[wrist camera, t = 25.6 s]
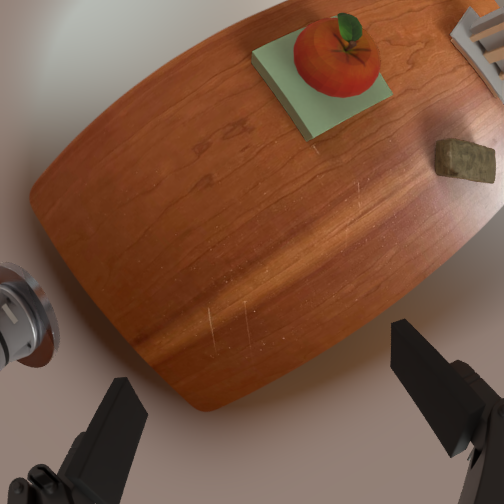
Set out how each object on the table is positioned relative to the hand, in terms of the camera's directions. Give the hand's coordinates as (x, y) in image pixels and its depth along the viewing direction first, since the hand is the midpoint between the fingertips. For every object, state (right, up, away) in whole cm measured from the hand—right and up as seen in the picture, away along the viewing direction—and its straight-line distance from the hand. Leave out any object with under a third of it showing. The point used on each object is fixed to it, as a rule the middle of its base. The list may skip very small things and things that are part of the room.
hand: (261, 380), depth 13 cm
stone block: (+32, +20, +23) cm, 45 cm away
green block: (+8, +29, +20) cm, 36 cm away
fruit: (+9, +28, +17) cm, 33 cm away
